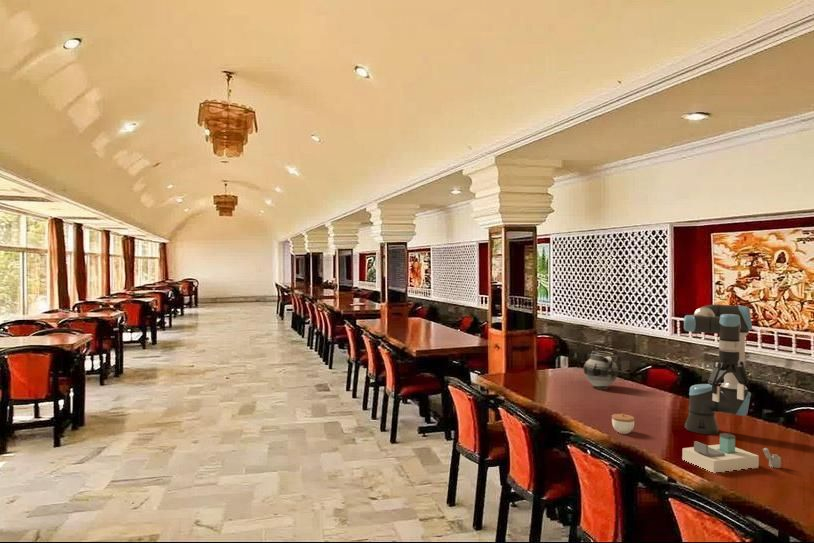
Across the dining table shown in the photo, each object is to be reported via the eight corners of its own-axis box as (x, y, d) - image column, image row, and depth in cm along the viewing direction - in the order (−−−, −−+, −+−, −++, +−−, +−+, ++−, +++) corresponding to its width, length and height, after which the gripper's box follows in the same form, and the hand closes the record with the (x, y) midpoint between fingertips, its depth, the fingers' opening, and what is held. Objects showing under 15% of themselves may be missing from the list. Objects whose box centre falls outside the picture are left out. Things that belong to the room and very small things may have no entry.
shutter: (708, 449, 232) (709, 438, 232) (724, 455, 224) (725, 444, 224) (692, 450, 229) (692, 440, 229) (707, 457, 222) (707, 446, 222)
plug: (726, 460, 233) (727, 433, 232) (734, 464, 229) (735, 435, 229) (719, 461, 231) (719, 433, 231) (727, 465, 227) (728, 436, 227)
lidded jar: (620, 436, 265) (620, 417, 265) (607, 429, 275) (607, 411, 275) (639, 434, 268) (639, 415, 268) (624, 428, 278) (625, 410, 278)
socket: (725, 454, 240) (725, 443, 240) (758, 467, 225) (758, 455, 225) (682, 459, 233) (682, 448, 233) (713, 473, 218) (713, 461, 218)
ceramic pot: (575, 383, 385) (576, 348, 384) (605, 383, 387) (606, 348, 387) (594, 393, 356) (595, 355, 356) (627, 392, 359) (628, 355, 359)
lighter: (777, 466, 227) (778, 447, 227) (781, 467, 225) (781, 448, 225) (761, 466, 226) (762, 447, 226) (765, 468, 225) (765, 448, 224)
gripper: (713, 353, 222) (712, 404, 222) (759, 351, 230) (758, 400, 230) (698, 350, 229) (697, 399, 230) (743, 348, 237) (742, 396, 237)
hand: (728, 400), depth 230 cm, fingers open, 13 cm apart
